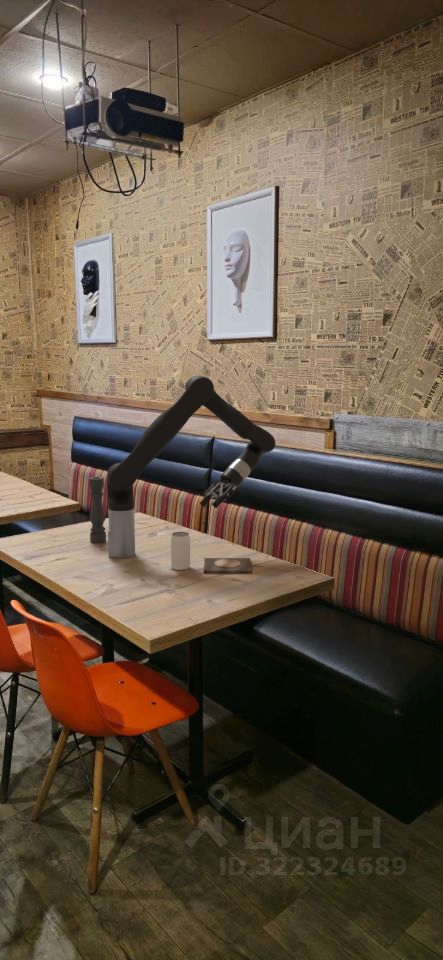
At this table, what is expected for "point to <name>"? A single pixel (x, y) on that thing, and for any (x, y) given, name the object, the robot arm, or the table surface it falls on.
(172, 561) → the can
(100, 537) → the candle holder
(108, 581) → the table surface
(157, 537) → the table surface
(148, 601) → the table surface
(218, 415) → the robot arm
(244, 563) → the rest board
